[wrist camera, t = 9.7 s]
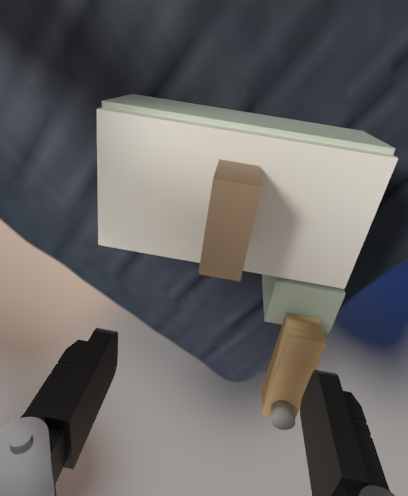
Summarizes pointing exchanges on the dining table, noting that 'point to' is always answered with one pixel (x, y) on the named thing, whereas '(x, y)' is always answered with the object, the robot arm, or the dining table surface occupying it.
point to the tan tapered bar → (291, 368)
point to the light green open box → (275, 288)
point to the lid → (235, 197)
